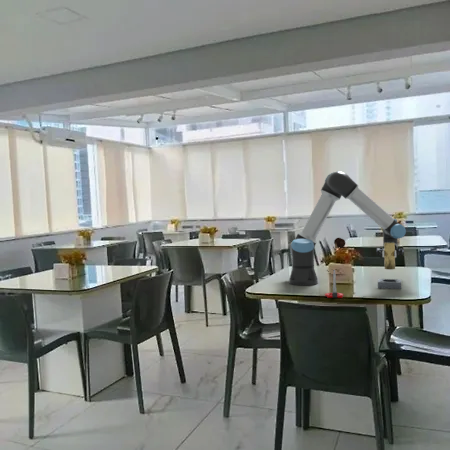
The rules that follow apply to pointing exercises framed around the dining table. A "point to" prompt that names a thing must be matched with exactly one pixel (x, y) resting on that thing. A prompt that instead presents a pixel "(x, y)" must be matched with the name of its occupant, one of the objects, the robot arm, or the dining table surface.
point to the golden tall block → (389, 255)
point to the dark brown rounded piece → (339, 242)
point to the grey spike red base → (334, 289)
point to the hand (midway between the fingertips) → (389, 254)
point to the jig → (389, 283)
